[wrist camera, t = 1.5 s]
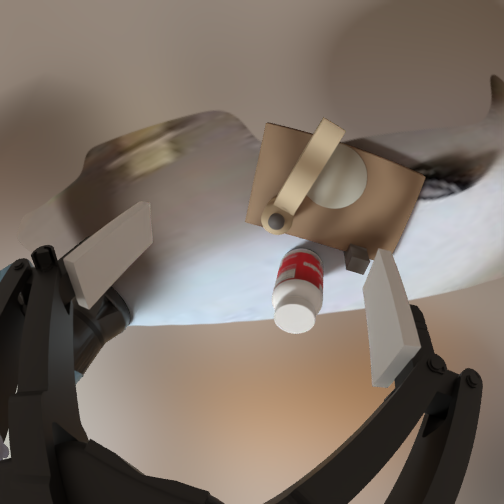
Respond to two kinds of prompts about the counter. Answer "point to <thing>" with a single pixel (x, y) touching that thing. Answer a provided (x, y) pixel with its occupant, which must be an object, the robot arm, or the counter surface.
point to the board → (338, 196)
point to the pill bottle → (298, 291)
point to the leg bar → (301, 178)
